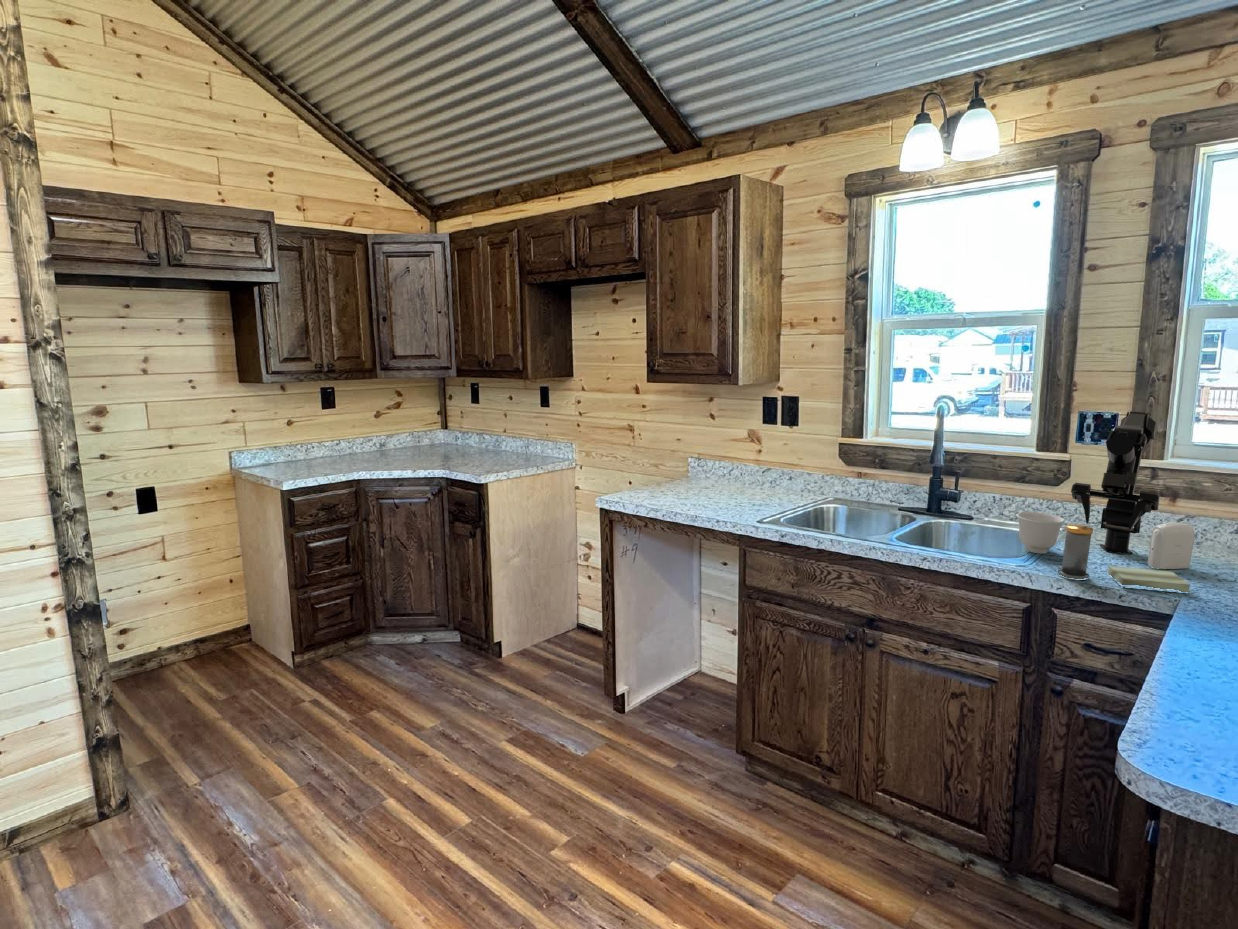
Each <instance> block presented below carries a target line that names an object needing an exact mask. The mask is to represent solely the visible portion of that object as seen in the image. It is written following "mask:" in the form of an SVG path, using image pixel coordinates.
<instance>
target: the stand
mask: <svg viewBox="0 0 1238 929" xmlns="http://www.w3.org/2000/svg"><path fill="white" fill-rule="evenodd" d="M1107 573H1108V574H1109V575H1111V576H1112V577H1113V578H1115V579H1116V580H1117V581H1118V582H1120V583H1121V584H1122V585H1139V586H1146V587H1153V588H1160V589H1174V590H1179V591H1181V592H1190V588H1191V585H1190V583H1189V582H1187V581H1186V580H1184V579H1183V578H1182V577H1180V576H1179V575H1177V573H1175V572H1173V571H1171V570H1163V569H1152V568H1150V569H1148V568H1139V567H1138V568H1137V567H1126V566H1115V565H1108V568H1107Z"/></svg>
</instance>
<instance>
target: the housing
mask: <svg viewBox="0 0 1238 929" xmlns="http://www.w3.org/2000/svg"><path fill="white" fill-rule="evenodd" d="M1065 531H1066V532H1065V534H1066V535H1065V541H1064V548H1063V556H1062V563H1061V568H1059V569H1058V570H1057V575H1058V574H1059V575H1062V576H1064V577H1067V578H1074V579H1084V578H1090V574H1089V573H1088V572H1087V569H1088V561H1089V555H1090V548H1091V540H1092V534H1093V533H1094V528H1092V527H1090V526H1087V525H1082V524H1074V523H1073V524H1070V523H1069V524H1066V526H1065ZM1059 575H1058V576H1059Z"/></svg>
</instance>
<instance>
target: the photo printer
mask: <svg viewBox="0 0 1238 929" xmlns="http://www.w3.org/2000/svg"><path fill="white" fill-rule="evenodd" d="M1195 535H1196V533H1195V529H1194V527H1193V526H1191V525H1188V524H1187V523H1186V524H1185V523H1182V522H1166V523H1161V524H1159V525H1156V526H1154V527H1153V528H1152V530H1151V536H1150V542H1149V550H1148V557H1147V563H1146V564H1147V566H1148V565H1149V566H1150V567H1153V568H1162V569H1161V570H1177V569H1189V568H1190V567H1191V561H1192V554H1193V548H1194V543H1195ZM1149 566H1148V567H1149ZM1150 567H1149V568H1150ZM1153 568H1152V569H1153Z"/></svg>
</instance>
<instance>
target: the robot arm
mask: <svg viewBox="0 0 1238 929" xmlns="http://www.w3.org/2000/svg"><path fill="white" fill-rule="evenodd" d="M1149 414H1150V413H1149V412H1148V413H1147V411H1137V410H1136V411H1135V410H1130V411H1127V412H1126V416H1125V417H1123V418H1121V420H1120V425H1116V426H1115V427H1114V428H1113V430H1110V431H1109V434H1108V436H1107V438H1106V441H1105V446H1106V453H1107V459H1108V462H1107V466H1106V470H1105V471H1106V472H1103V478H1102V481H1101V490H1100V489H1095V488H1094V489H1093V488H1092V487H1091V484H1090V483H1083V482H1082V483H1081V482H1074V483H1073V484H1072V486H1071V490H1070V492H1071V496H1072V497H1071V498H1072V499H1074V500H1076V501H1077V503H1079V504H1081V505H1082V507H1083V510H1084V511H1083V512H1084V518H1085V523H1086V525H1089V521H1090V515H1091V503H1092V502H1091V498H1092V497H1093V498H1100V499H1106V500H1107V499H1108V500H1107V502H1106V506H1105V507H1103V508H1102V513H1101V520H1100V529H1104V530H1106V532H1105V540H1104V544H1102V543H1099V546H1100V548H1102V550H1104V551H1105V552H1107V553H1114V554H1115V553H1116V554H1127V555H1128V554H1129V555H1133V554H1134V552H1133V551H1132V550H1131V549H1130V548H1129V546H1130V540H1131V539H1130V538H1131V534H1134V535H1135V534H1140V532H1141V525H1142V522H1141V521H1142V517H1143V516H1144V515H1145V514H1146V513H1151V512H1152V511H1158V510H1159V506H1160V495H1159V493H1158V492H1154V491H1153V492H1152V491H1145V490H1141V491H1140V492H1139V494H1135V490H1136V484H1137V481H1138V475H1139V470H1140V465H1141V461H1142V456H1143V454H1144V453H1145V452H1146V451H1147V450H1148V449H1149V448H1151V443H1152V440H1155V438H1156V433H1157V422H1156V420H1154V419H1152V418H1151V417H1150V416H1149Z"/></svg>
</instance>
